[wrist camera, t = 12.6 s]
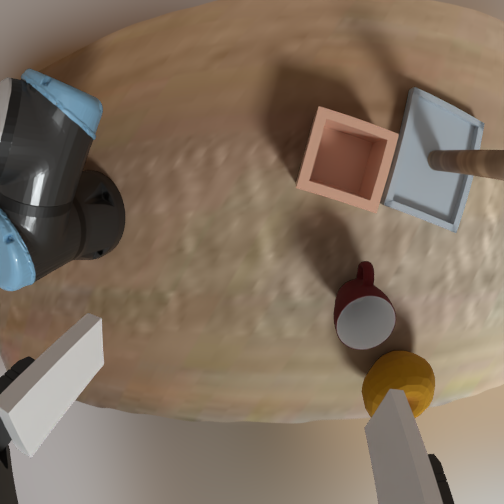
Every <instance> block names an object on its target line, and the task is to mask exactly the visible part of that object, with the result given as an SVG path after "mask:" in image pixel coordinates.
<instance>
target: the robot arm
mask: <svg viewBox="0 0 504 504" xmlns="http://www.w3.org/2000/svg"><path fill="white" fill-rule="evenodd" d="M21 78H22V79H21V80H18V79H13V78H5V79H4V80H2V81H1V82H0V288H2V289H4V290H7V291H15V290H18V289H20V288H22V287H24V286H26V285H32V284H33V283H34V282H35V281H37V280H39V279H40V278H42V277H44V276H45V275H47V274H49V273H51V272H52V271H54V270H56V269H58V268H59V267H61V266H63V265H65V264H66V263H68V262H70V261H72V260H93V259H97V258H100V257H102V256H104V255H106V254H107V253H109V252H111V251H112V250H113V249H114V248H115V247H116V246H117V244H118V243H119V241H120V239H121V237H122V234H123V231H124V226H125V209H124V204H123V201H122V198H121V195H120V193H119V191H118V189H117V188H116V186H115V185H114V183H113V182H112V181H111V180H110V179H109V178H108V177H106V176H105V175H103V174H101V173H99V172H96V171H82V170H83V167H84V164H85V161H86V158H87V156H88V153H89V150H90V147H91V145H92V142H93V140H95V138H96V135H95V133H96V130H97V127H98V124H99V122H100V119H101V116H102V112H103V107H102V104H101V102H100V101H99V100H98V99H97V98H96V97H94V96H91V95H89V94H87V93H85V92H83V91H81V90H78V89H76V88H74V87H72V86H70V85H67V84H65V83H63V82H61V81H58V80H56V79H54V78H51V77H49V76H47V75H44V74H42V73H40V72H37V71H35V70H33V69H27V70H26V71H25V72H24V73H23V74H22V76H21ZM103 365H104V358H103V341H102V318H100V317H97V316H95V315H92V314H90V313H87V314H86V315H85V316H84V317H83V318H81V319H80V320H79V321H78V322H77V323H76V324H75V325H74V326H72V327H71V328H70V329H69V330H68V331H67V332H66V333H65V334H63V335H62V336H61V337H60V338H59V339H58V340H57V341H56V342H55V343H54V344H52V345H51V346H50V347H49V348H48V349H47V350H46V351H45V352H44V353H43V354H42V355H41V356H39V357H38V358H37V359H36V360H34V359H33V358H31V357H26V358H24V359H22V360H19V361H18V362H17V363H16V364H14V365H13V366H12V367H11V369H10V370H8V371H7V372H6V373H5V375H3V376H1V377H0V504H18V500H17V495H16V490H15V484H14V478H13V472H12V466H11V457H10V449H9V446H8V444H9V443H10V441H11V440H12V441H13V443H14V445H15V447H16V448H17V449H18V450H20V451H21V452H23V453H24V454H26V455H27V456H28V457H30V458H32V456H33V455H34V453H35V452H36V451H37V449H38V448H39V447H40V445H41V444H42V443H43V441H44V440H45V439H46V437H47V436H48V435H49V433H50V432H51V431H52V429H53V428H54V427H55V425H56V424H57V423H58V422H59V420H60V419H61V418H62V416H63V415H64V414H65V412H66V411H67V410H68V409H69V407H70V406H71V405H72V403H73V402H74V401H75V400H76V398H77V397H78V396H79V395H80V393H81V392H82V391H83V390H84V388H85V387H86V386H87V385H88V383H89V382H90V381H91V380H92V378H93V377H94V376H95V375H96V373H97V372H98V371H99V370H100V368H101V367H102V366H103ZM365 433H366V437H367V443H368V447H369V453H370V458H371V463H372V469H373V474H374V480H375V485H376V492H377V498H378V504H454V501H453V498H452V495H451V492H450V488H449V485H448V482H446V480H447V479H446V477H445V474H444V471H443V468H442V465H441V462H440V461H439V460H438V459H437V457H436V456H435V455H434V454H427V451H426V449H425V446H424V443H423V440H422V437H421V435H420V432H419V429H418V426H417V424H416V421H415V418H414V416H413V413H412V410H411V408H410V405H409V403H408V400H407V398H406V395H405V393H404V390H397V389H389V391H388V392H387V394H386V396H385V397H384V399H383V400H382V402H381V404H380V405H379V407H378V408H377V410H376V411H375V413H374V414H373V416H372V417H371V419H370V420H369V422H368V423H367V425H366V426H365Z"/></svg>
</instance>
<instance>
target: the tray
mask: <svg viewBox="0 0 504 504" xmlns="http://www.w3.org/2000/svg"><path fill="white" fill-rule="evenodd" d="M483 129H484V123H483V122H481V121H479V120H478V119H476V118H474V117H472V116H471V115H469V114H467V113H465V112H464V111H462V110H460V109H458V108H456V107H455V106H453V105H451V104H449V103H447V102H445V101H443V100H441V99H439V98H437V97H435V96H433V95H431V94H429V93H427V92H425V91H423V90H420V89H418V88H416V87H413V88H411V89H410V90H409V93H408V98H407V102H406V107H405V111H404V116H403V120H402V124H401V129H400V133H399V137H398V141H397V145H396V148H395V152H394V156H393V160H392V163H391V167H390V170H389V174H388V177H387V181H386V184H385V188H384V191H383V194H382V197H381V201H380V203H381V204H383V205H385V206H388V207H391V208H394V209H396V210H399V211H402V212H404V213H407V214H410V215H412V216H415V217H417V218H420V219H423V220H425V221H428V222H430V223H433V224H435V225H438V226H440V227H443V228H445V229H448V230H450V231H452V232H455V233H456V232H457V229H458V226H459V223H460V220H461V217H462V214H463V211H464V208H465V204H466V201H467V197H468V194H469V190H470V187H471V183H472V179H473V175H466V174H459V173H451V172H443V171H435V170H433V169H431V168H430V166H429V165H428V160H427V159H428V155H429V153H430V152H431V151H434V150H479V149H480V145H481V140H482V134H483Z"/></svg>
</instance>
